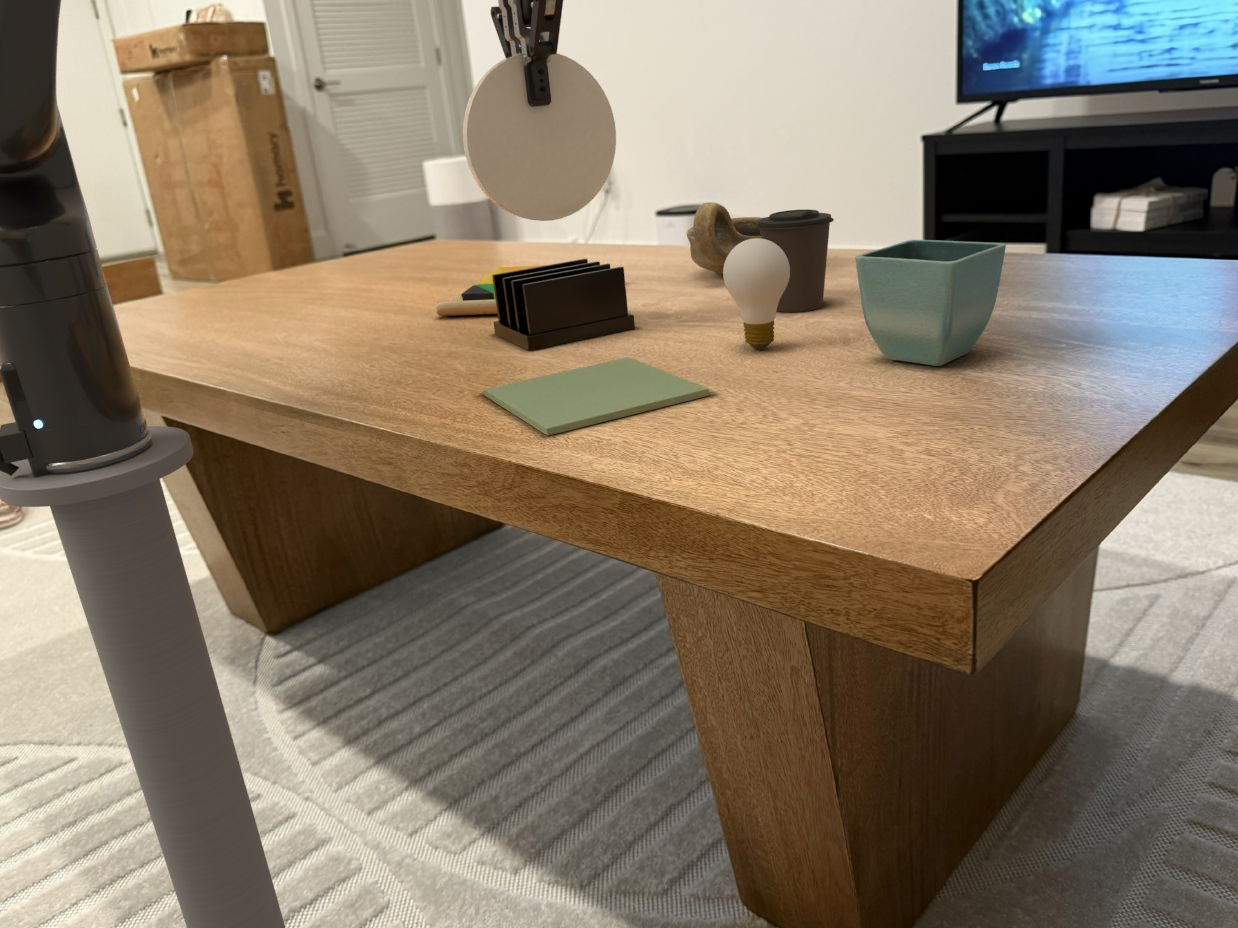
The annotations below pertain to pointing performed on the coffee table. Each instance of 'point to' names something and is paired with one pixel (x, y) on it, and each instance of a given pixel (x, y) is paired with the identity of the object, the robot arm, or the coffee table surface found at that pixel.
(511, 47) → the robot arm
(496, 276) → the rack
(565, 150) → the plate
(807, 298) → the coffee cup
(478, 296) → the wooden puzzle
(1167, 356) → the coffee table surface
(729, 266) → the light bulb
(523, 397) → the mat
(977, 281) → the flower pot
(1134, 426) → the coffee table surface
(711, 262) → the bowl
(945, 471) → the coffee table surface
